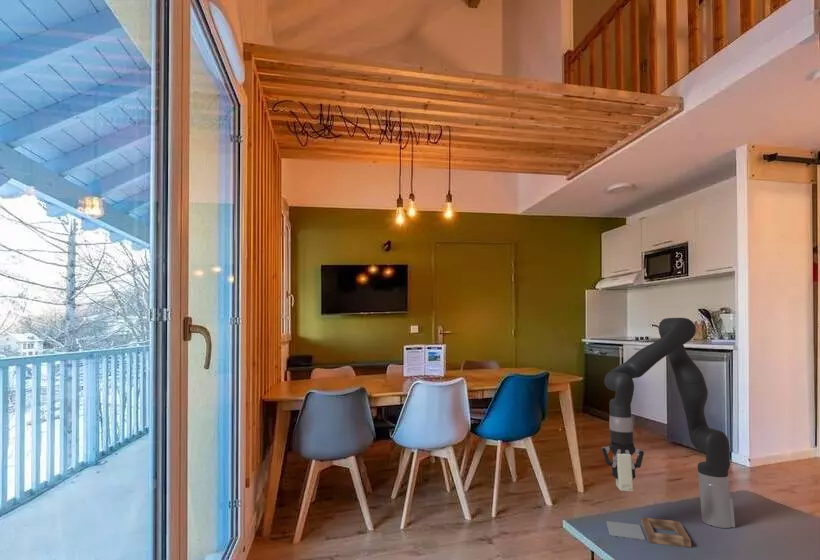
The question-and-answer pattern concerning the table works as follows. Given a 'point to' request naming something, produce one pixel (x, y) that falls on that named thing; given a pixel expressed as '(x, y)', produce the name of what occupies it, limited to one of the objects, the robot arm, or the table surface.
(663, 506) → the table surface
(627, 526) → the slate mat
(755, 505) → the table surface
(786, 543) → the table surface
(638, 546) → the table surface
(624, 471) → the skincare box
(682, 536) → the frame
